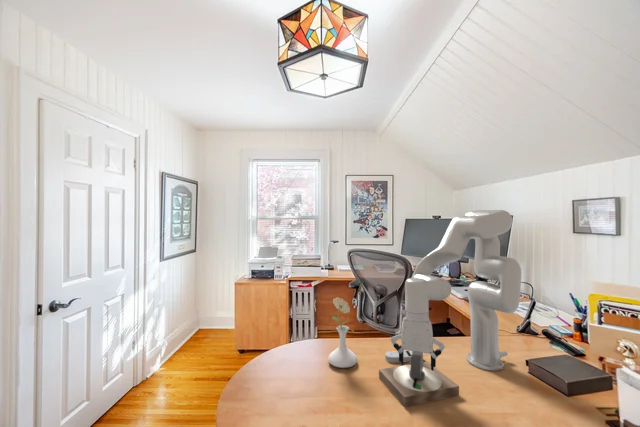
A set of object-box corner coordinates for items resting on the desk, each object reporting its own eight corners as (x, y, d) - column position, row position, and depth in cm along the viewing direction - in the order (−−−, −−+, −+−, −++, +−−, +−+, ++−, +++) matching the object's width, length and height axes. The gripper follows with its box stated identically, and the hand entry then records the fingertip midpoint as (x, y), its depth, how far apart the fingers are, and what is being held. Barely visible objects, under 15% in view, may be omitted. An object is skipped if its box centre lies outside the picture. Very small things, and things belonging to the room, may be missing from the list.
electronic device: (383, 333, 116) (419, 332, 116) (384, 357, 116) (420, 356, 116) (386, 339, 111) (424, 338, 111) (387, 364, 111) (425, 362, 111)
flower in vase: (363, 366, 108) (362, 301, 108) (337, 374, 103) (337, 305, 103) (345, 352, 119) (345, 293, 120) (321, 357, 114) (321, 296, 115)
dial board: (427, 369, 106) (427, 360, 106) (459, 395, 90) (459, 385, 90) (379, 377, 100) (379, 368, 100) (404, 407, 85) (404, 396, 85)
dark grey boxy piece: (410, 369, 99) (410, 348, 100) (425, 372, 97) (425, 351, 97) (405, 385, 90) (405, 362, 90) (422, 389, 88) (422, 366, 88)
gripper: (389, 316, 95) (389, 367, 95) (445, 322, 89) (445, 376, 89) (391, 309, 102) (391, 356, 102) (443, 314, 96) (443, 364, 96)
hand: (416, 366), depth 95 cm, fingers open, 9 cm apart
